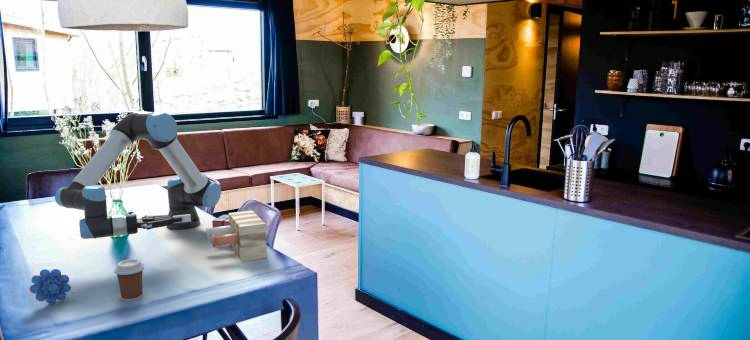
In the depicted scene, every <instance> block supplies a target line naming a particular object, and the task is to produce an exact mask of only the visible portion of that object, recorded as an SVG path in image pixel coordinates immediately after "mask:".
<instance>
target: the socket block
mask: <svg viewBox="0 0 750 340" xmlns="http://www.w3.org/2000/svg"><path fill="white" fill-rule="evenodd" d="M227 215H229V225H232V226H233V234H235V233H239V243H237V244H230V247H231V249H232V250H233V251H234V253H235V254H236V255H237V257H238V259H240V261H241V262H249V261H252V260H258V259H259V260H260V259H266V258H267V257H268V255H267V254H268V252H267V248H268V247H267V229H266V225H267V224H266V222H264V221H263V220H262V219H261V217H260V216H259V215H257V214H256V213H255V212H254V211H253V210H245V211H237V212H236V211H235V212H228V214H227Z"/></svg>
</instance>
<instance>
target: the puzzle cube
mask: <svg viewBox="0 0 750 340" xmlns="http://www.w3.org/2000/svg"><path fill="white" fill-rule="evenodd" d="M211 222H212V223H211V224H212V225H211V226H212V228H214V227H221V226H229V215H228V214H222V215H220V216H219V217H217V218H215V219H213V220H211Z"/></svg>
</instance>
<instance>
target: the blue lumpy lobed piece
mask: <svg viewBox="0 0 750 340" xmlns="http://www.w3.org/2000/svg"><path fill="white" fill-rule="evenodd" d="M69 282H70V277H69V276H68V275H67V274H62V272H61V270H60V269H58V268H57V269H56V268H54V269H52V270H51V271H50V270H49V269H48V268H47V269H46V268H45V269H42V270H40V271H39V274H38V275H36V274H35V275H33V276H32V277H31V283H33V284H31V285H30V287H29V291H30V293H32V294H35V299H36V301H38V302H44V301H46V303H48V304H49V305H51V304H52V305H53V304H55V303H56V302H57V300H59V301H63V300H65V299H66V297H67V294H66V293H69V292H71V289H72V286H71V284H70V283H69Z"/></svg>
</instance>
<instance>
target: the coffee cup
mask: <svg viewBox="0 0 750 340" xmlns="http://www.w3.org/2000/svg"><path fill="white" fill-rule="evenodd" d="M116 265H117V266H116V267H115V268H114V269H113V271H114V272H113V273H114V274H115V275H116V276H117V280H118V286H119V291H120V296H121V297H120V298H121V300H122V301H125V302H132V301H136V300H139V299H141V298H142V297H143V271H144V269H145V265H144V264H143V263H142V262H141V260H140V259H135V258H129V259H125V260H122V261H119V262H118V263H117V264H116Z"/></svg>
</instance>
